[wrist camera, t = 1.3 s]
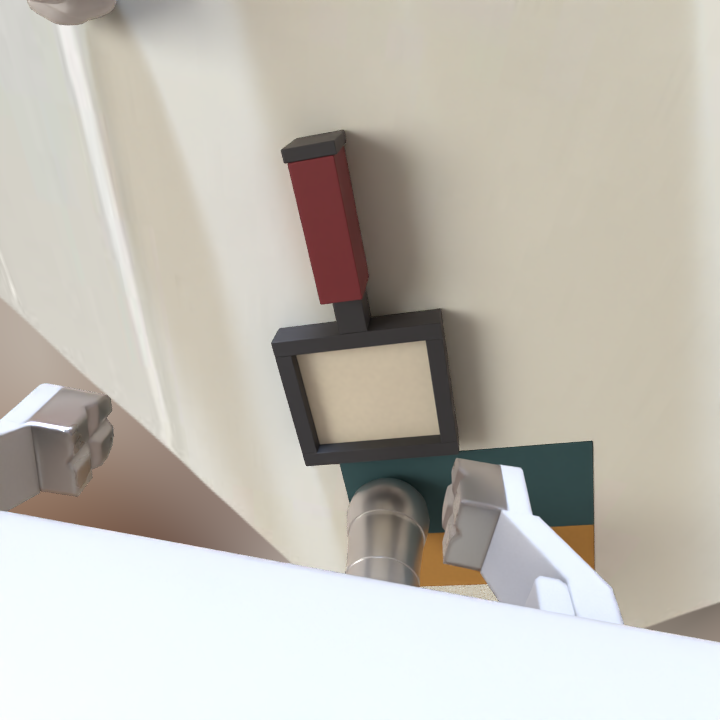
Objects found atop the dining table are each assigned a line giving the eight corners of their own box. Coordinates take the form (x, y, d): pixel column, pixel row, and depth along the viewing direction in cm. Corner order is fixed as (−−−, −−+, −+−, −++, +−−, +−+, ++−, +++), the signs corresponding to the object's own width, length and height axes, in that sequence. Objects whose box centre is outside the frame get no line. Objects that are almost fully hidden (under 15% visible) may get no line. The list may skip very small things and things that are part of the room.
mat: (591, 437, 47) (592, 441, 46) (593, 576, 54) (594, 580, 53) (339, 457, 51) (338, 461, 50) (371, 584, 58) (370, 588, 57)
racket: (230, 150, 39) (209, 162, 36) (414, 116, 37) (411, 125, 34) (311, 448, 50) (301, 479, 47) (458, 435, 48) (459, 468, 44)
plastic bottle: (355, 461, 50) (308, 693, 33) (436, 474, 50) (433, 716, 32) (347, 519, 53) (301, 758, 36) (424, 531, 53) (415, 779, 36)
